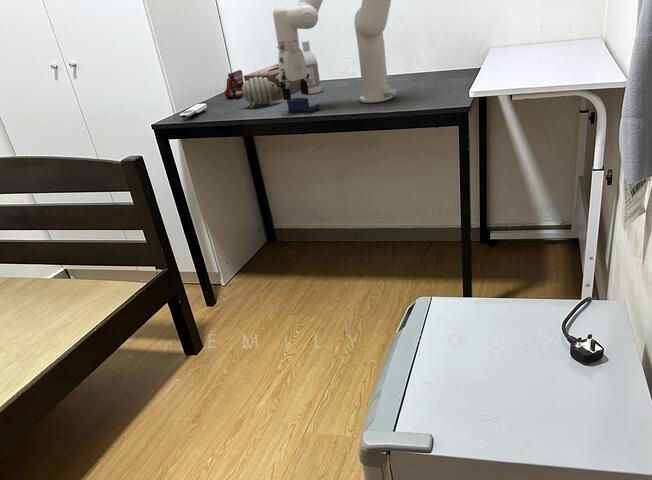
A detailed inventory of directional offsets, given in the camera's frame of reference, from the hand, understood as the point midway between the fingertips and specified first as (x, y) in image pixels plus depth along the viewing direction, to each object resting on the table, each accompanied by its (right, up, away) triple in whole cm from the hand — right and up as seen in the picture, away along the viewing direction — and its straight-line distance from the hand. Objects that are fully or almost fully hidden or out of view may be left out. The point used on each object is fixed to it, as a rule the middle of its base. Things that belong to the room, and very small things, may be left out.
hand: (296, 96), depth 205 cm
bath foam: (+3, +13, +31) cm, 33 cm away
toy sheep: (-17, +3, +19) cm, 26 cm away
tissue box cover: (-12, +15, +38) cm, 42 cm away
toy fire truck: (-31, +15, +42) cm, 55 cm away
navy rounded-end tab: (+2, -4, +2) cm, 5 cm away
